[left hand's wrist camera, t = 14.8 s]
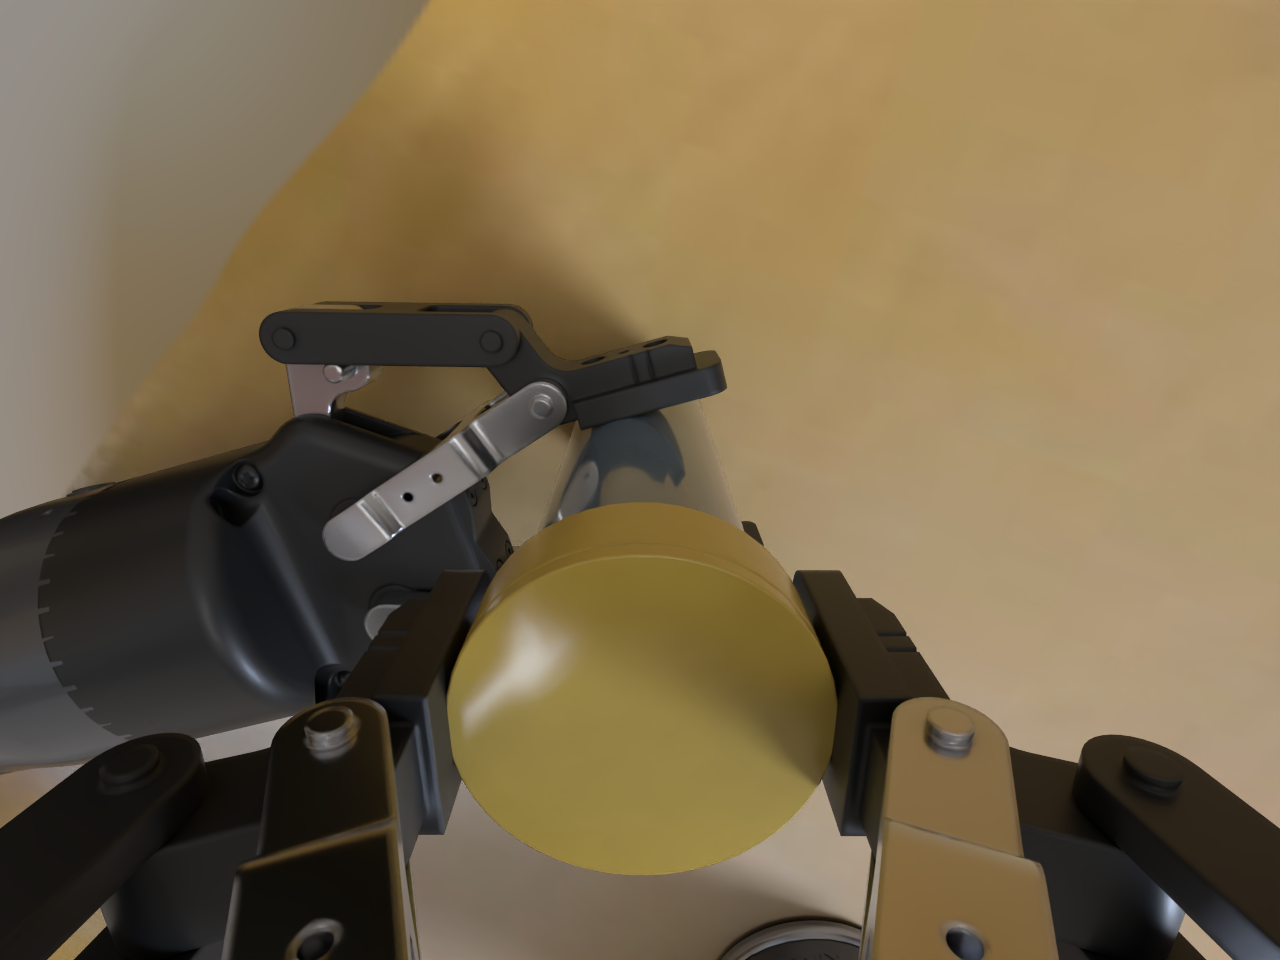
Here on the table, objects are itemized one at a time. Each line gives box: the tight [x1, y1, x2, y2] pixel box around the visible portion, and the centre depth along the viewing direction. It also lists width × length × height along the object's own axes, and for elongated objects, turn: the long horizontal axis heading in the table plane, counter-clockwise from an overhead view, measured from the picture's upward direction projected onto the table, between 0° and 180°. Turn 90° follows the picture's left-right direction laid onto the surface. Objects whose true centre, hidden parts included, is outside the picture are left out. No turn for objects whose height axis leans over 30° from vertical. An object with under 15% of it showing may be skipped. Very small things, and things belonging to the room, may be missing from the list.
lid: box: [446, 502, 838, 875], centre depth 10 cm, size 5×5×2 cm
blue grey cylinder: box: [538, 399, 745, 533], centre depth 17 cm, size 4×4×16 cm
